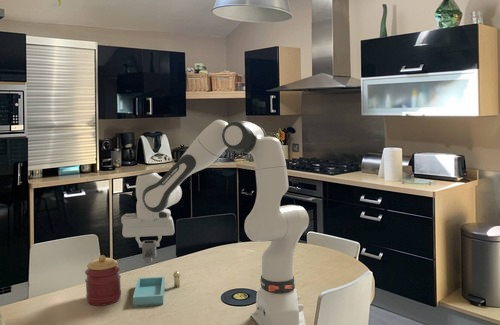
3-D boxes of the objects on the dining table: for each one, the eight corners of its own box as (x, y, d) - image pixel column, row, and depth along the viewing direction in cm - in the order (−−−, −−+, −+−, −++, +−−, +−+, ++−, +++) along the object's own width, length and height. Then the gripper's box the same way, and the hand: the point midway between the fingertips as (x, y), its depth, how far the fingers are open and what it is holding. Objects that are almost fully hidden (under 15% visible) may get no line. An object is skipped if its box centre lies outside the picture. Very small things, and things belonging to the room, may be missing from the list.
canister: (119, 290, 186) (118, 248, 184) (123, 303, 174) (121, 258, 172) (85, 295, 181) (83, 252, 179) (87, 308, 169) (84, 262, 167)
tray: (163, 304, 172) (162, 295, 171) (133, 306, 170) (132, 297, 170) (165, 284, 191) (164, 276, 191) (138, 286, 190) (138, 278, 189)
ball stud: (180, 287, 188) (180, 272, 187) (173, 288, 188) (172, 272, 187) (180, 285, 191) (180, 270, 190) (173, 285, 190) (173, 270, 190)
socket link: (143, 255, 185) (143, 240, 184) (156, 254, 185) (155, 240, 185) (141, 263, 174) (140, 248, 173) (154, 262, 174) (154, 247, 174)
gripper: (119, 215, 175) (121, 250, 177) (173, 213, 178) (174, 247, 180) (122, 212, 182) (123, 245, 183) (173, 210, 185) (174, 243, 186)
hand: (149, 246), depth 182 cm, fingers closed on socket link, 5 cm apart
